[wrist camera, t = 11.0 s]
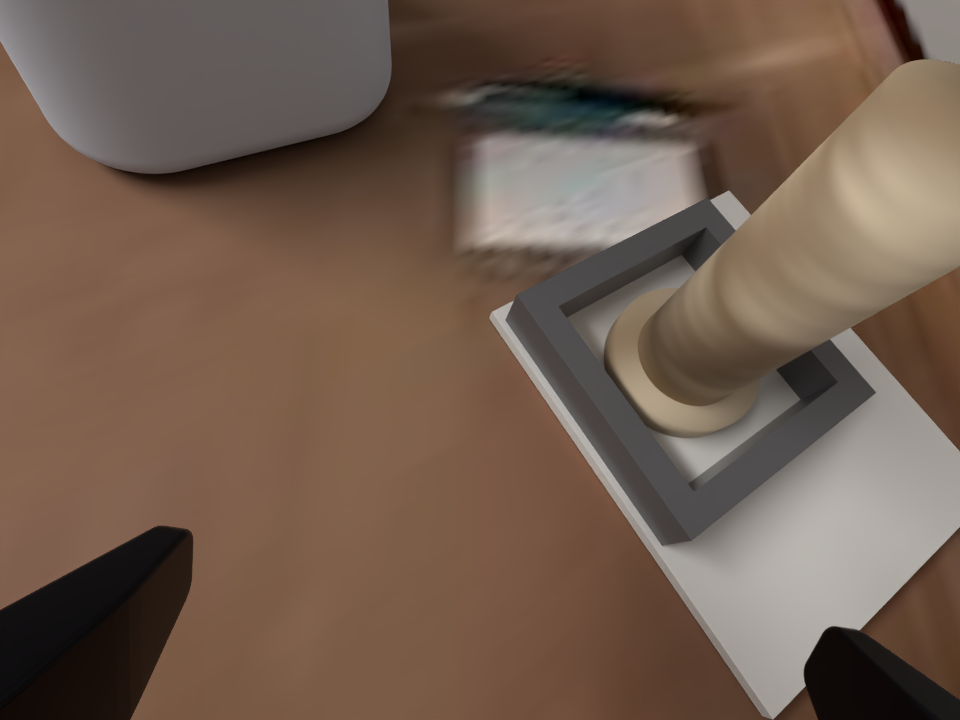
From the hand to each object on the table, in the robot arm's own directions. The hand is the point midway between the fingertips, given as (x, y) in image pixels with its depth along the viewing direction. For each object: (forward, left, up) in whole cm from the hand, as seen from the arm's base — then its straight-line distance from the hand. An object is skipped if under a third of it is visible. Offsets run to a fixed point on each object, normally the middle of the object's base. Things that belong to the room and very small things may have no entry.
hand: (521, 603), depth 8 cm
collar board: (-1, -15, -13) cm, 20 cm away
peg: (+2, -13, -12) cm, 18 cm away
